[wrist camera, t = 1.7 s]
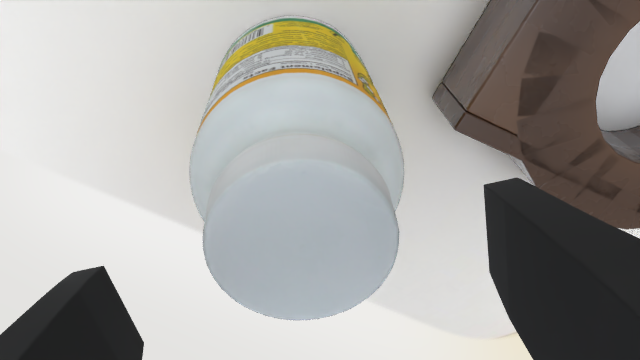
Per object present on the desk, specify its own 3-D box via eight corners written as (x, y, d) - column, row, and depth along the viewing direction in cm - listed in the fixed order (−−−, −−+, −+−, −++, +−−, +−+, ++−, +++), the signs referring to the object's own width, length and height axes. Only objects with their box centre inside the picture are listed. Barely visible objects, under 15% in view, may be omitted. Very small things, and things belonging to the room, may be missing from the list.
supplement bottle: (222, 2, 17) (166, 106, 9) (380, 24, 18) (466, 138, 10) (214, 149, 20) (165, 337, 11) (353, 163, 21) (402, 351, 12)
